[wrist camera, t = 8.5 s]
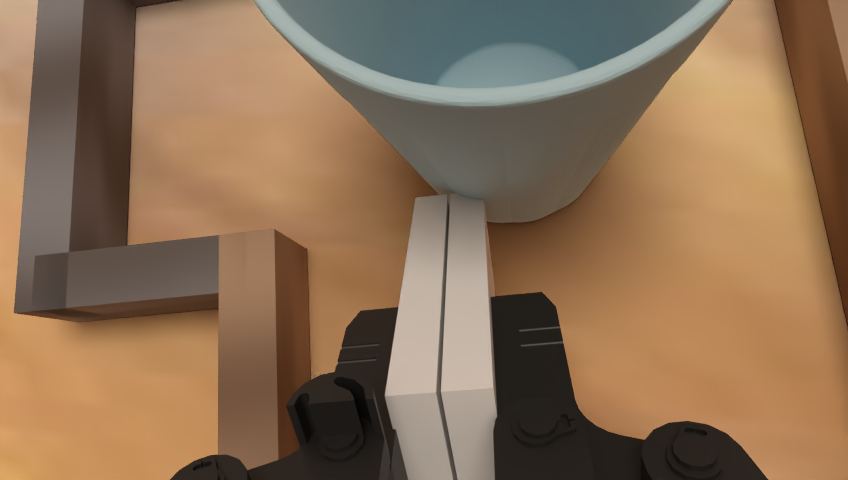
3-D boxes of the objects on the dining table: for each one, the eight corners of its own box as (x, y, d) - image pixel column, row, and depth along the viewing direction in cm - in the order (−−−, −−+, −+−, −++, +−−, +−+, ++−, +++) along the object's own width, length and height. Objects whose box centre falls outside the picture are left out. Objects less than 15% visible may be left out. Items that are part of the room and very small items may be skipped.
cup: (708, 167, 17) (953, -133, 7) (470, 316, 17) (389, 222, 7) (551, -29, 19) (573, -472, 9) (339, 106, 20) (138, -189, 10)
